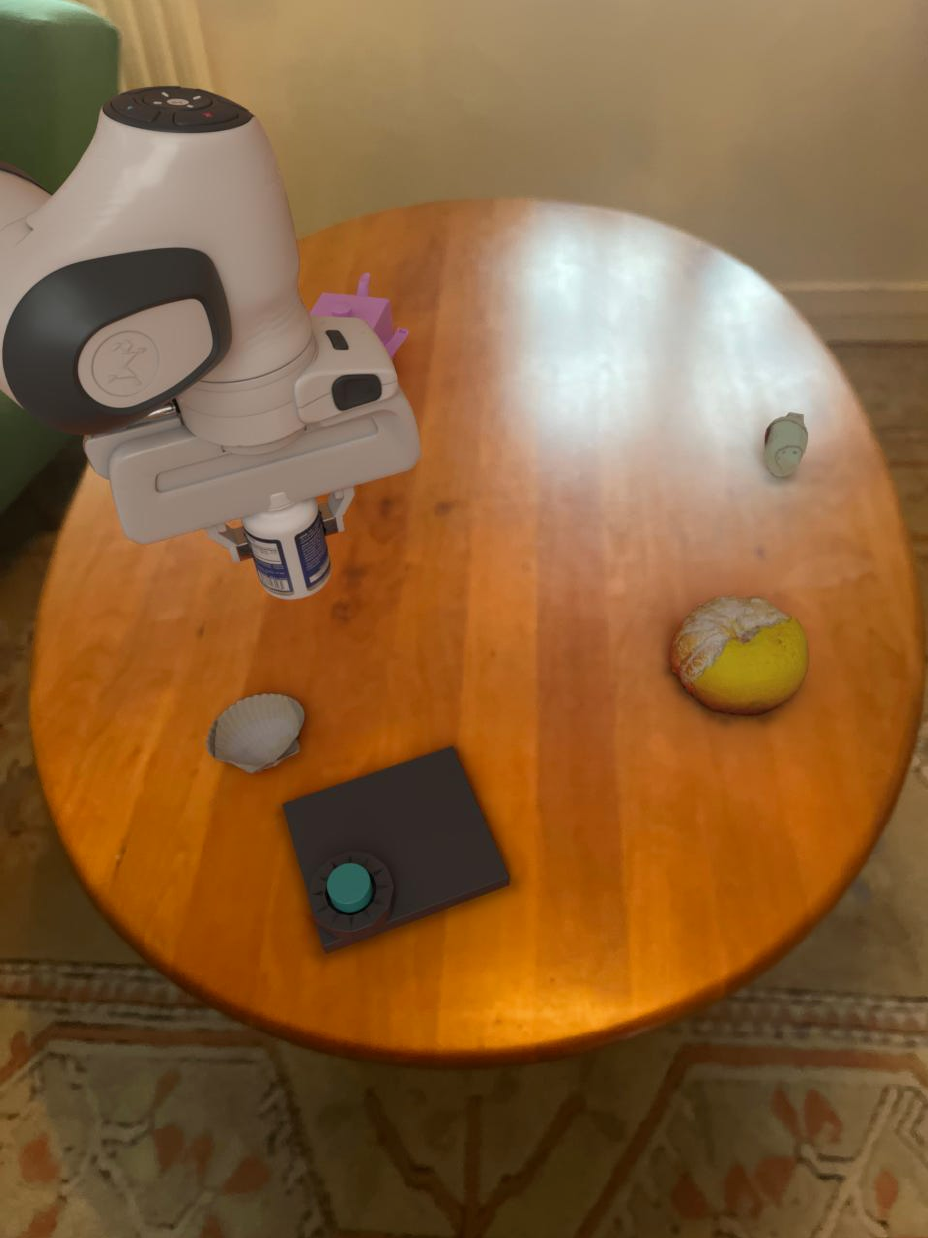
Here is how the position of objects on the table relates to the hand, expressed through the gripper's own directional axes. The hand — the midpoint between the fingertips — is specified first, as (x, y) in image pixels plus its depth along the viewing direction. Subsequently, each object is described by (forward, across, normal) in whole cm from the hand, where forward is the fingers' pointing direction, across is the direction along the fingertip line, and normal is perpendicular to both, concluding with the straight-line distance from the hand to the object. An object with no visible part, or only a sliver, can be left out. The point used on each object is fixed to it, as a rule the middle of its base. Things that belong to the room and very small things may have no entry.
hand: (288, 541), depth 68 cm
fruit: (+18, +33, -12) cm, 39 cm away
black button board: (+18, +1, -16) cm, 24 cm away
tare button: (+15, -3, -20) cm, 25 cm away
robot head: (+18, +50, +8) cm, 54 cm away
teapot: (+18, +16, +40) cm, 47 cm away
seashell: (+18, -6, -3) cm, 20 cm away
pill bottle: (+4, 0, 0) cm, 4 cm away
